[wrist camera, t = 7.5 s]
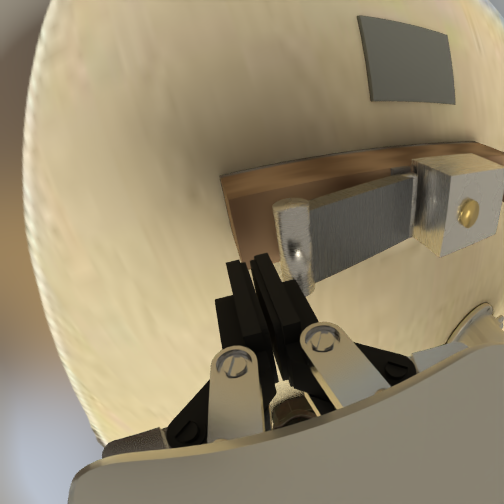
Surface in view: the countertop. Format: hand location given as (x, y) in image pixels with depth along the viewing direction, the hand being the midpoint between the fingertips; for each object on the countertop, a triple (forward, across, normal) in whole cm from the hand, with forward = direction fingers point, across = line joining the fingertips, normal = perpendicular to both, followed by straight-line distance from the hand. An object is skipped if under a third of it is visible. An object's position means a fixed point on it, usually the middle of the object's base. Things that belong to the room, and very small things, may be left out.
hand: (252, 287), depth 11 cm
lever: (+4, -10, 0) cm, 11 cm away
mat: (+10, -17, -10) cm, 22 cm away
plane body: (+10, -13, 0) cm, 16 cm away
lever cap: (+5, -15, 0) cm, 16 cm away
